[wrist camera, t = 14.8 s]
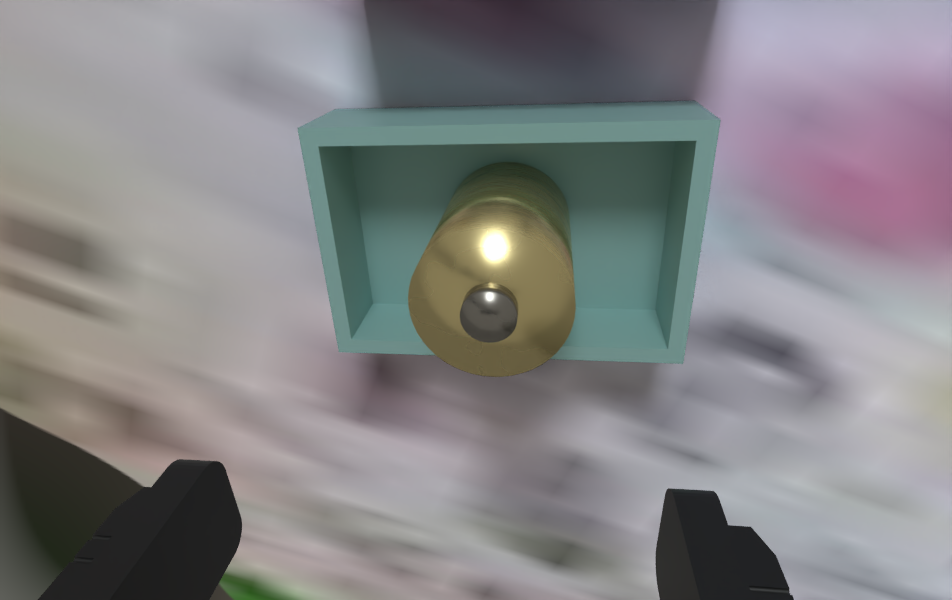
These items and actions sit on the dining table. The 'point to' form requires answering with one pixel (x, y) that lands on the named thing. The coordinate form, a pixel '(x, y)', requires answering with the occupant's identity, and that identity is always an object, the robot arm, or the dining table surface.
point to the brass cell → (497, 274)
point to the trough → (562, 159)
